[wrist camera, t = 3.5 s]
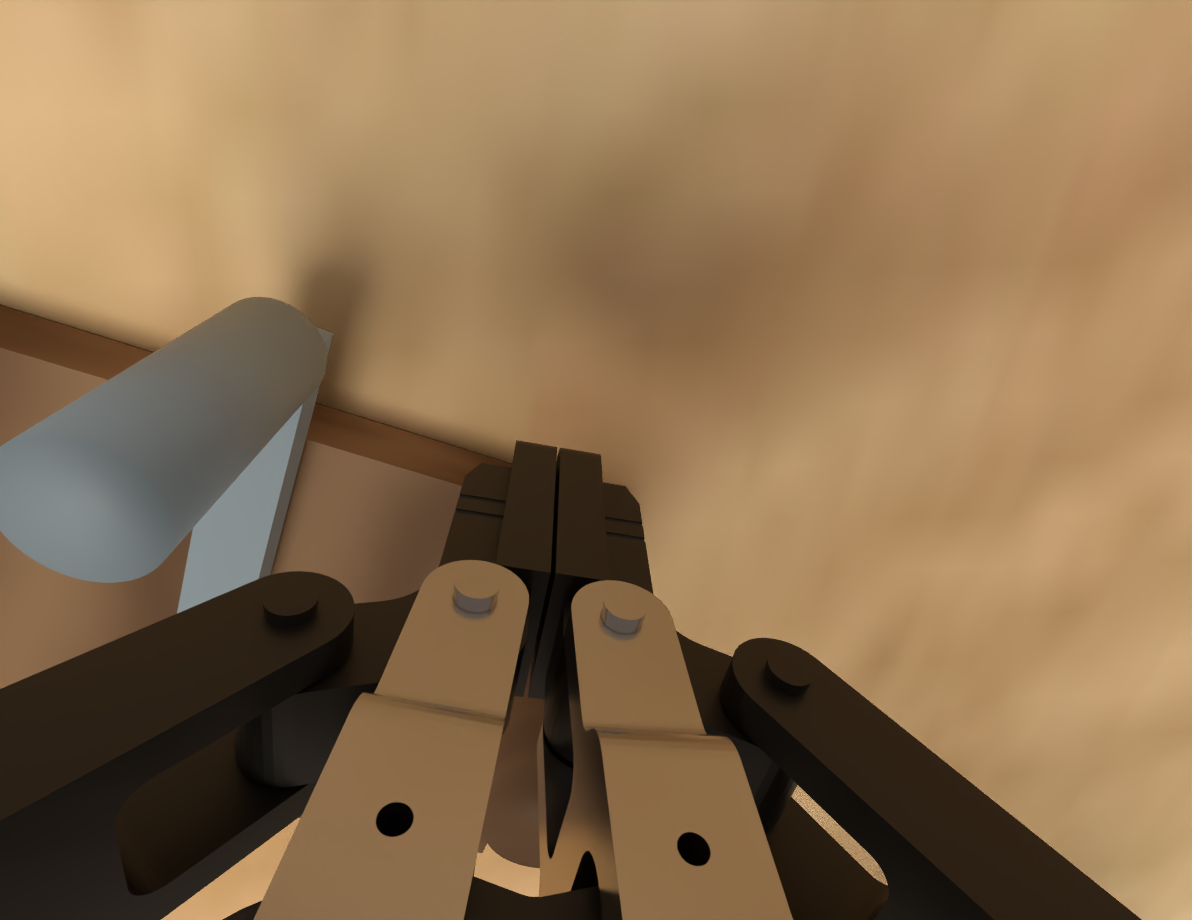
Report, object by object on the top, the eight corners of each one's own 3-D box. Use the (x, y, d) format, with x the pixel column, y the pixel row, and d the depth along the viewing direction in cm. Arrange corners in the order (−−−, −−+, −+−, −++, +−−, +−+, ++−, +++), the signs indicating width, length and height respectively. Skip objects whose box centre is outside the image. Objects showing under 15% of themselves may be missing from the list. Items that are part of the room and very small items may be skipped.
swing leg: (227, 785, 24) (86, 1063, 17) (149, 767, 23) (-29, 1047, 16) (358, 309, 16) (192, 475, 9) (243, 264, 15) (-28, 404, 8)
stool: (632, 501, 21) (672, 793, 12) (487, 805, 28) (448, 1128, 19) (-272, 220, 16) (-1241, 365, 8) (-173, 668, 23) (-619, 1011, 15)
